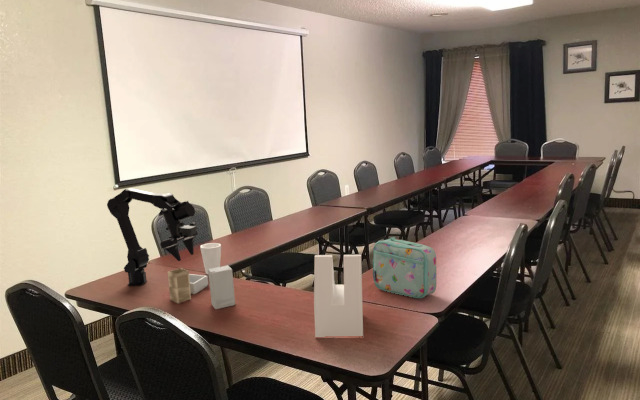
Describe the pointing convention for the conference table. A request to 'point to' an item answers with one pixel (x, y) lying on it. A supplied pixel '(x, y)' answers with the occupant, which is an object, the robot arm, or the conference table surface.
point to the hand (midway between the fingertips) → (186, 257)
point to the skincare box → (221, 287)
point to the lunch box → (404, 268)
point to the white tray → (197, 283)
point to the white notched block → (338, 298)
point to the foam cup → (211, 255)
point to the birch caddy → (179, 285)
